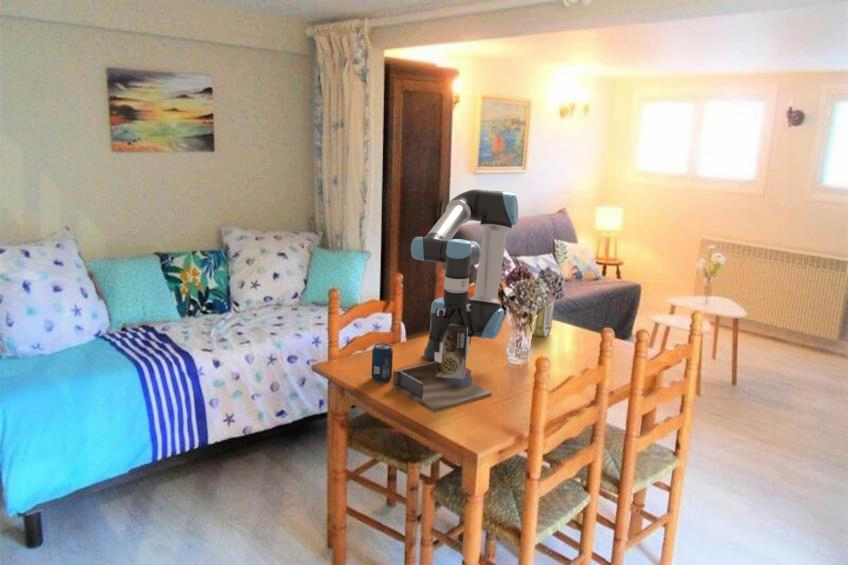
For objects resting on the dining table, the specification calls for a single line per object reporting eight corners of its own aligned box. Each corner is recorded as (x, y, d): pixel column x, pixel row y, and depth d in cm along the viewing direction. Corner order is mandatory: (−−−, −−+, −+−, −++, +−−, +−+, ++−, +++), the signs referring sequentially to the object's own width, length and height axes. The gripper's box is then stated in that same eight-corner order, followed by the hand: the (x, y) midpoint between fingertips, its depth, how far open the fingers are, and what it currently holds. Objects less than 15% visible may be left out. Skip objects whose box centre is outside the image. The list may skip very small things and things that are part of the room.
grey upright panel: (398, 385, 209) (398, 371, 208) (400, 385, 209) (400, 371, 208) (420, 398, 200) (421, 383, 199) (422, 397, 200) (423, 383, 199)
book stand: (392, 387, 210) (393, 370, 208) (447, 373, 224) (448, 357, 223) (434, 412, 193) (435, 394, 191) (491, 395, 208) (492, 378, 206)
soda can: (378, 373, 221) (379, 341, 218) (395, 378, 218) (396, 345, 215) (367, 380, 215) (368, 346, 212) (384, 384, 212) (386, 350, 209)
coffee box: (465, 372, 203) (469, 324, 200) (464, 379, 197) (468, 330, 193) (437, 369, 204) (440, 321, 201) (435, 376, 198) (438, 327, 194)
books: (437, 375, 219) (438, 362, 218) (448, 372, 222) (449, 359, 221) (460, 387, 210) (461, 373, 209) (471, 384, 213) (472, 370, 212)
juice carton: (551, 333, 277) (556, 291, 272) (547, 338, 269) (551, 295, 265) (534, 330, 280) (538, 288, 275) (529, 335, 272) (533, 292, 268)
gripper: (435, 297, 184) (430, 368, 190) (491, 288, 199) (486, 355, 204) (419, 291, 190) (415, 361, 195) (475, 283, 204) (470, 348, 209)
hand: (451, 358), depth 199 cm, fingers closed on coffee box, 10 cm apart
